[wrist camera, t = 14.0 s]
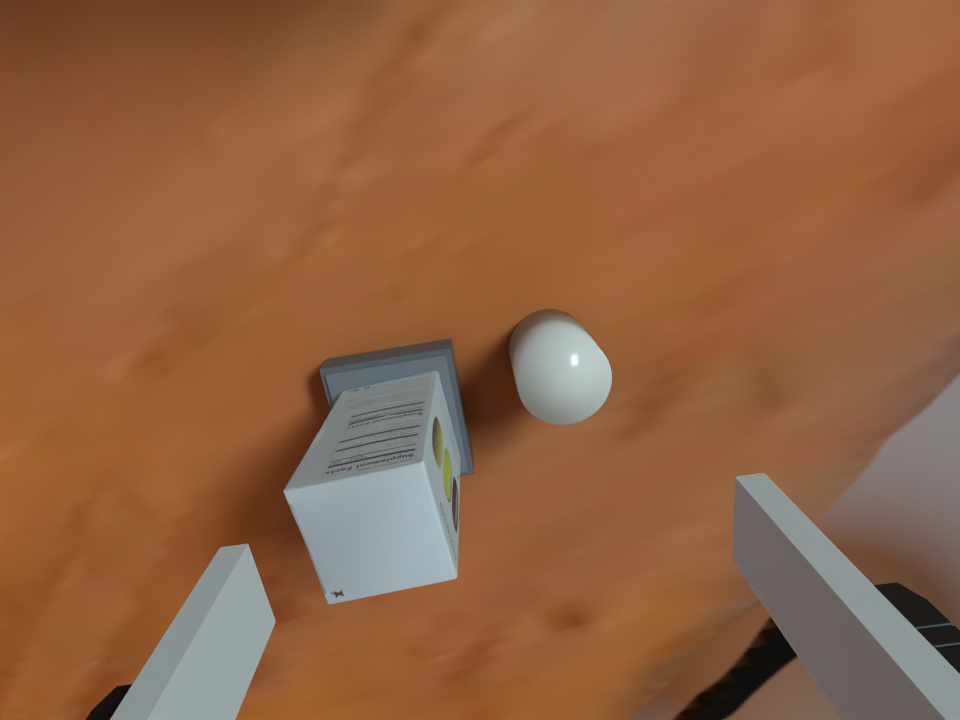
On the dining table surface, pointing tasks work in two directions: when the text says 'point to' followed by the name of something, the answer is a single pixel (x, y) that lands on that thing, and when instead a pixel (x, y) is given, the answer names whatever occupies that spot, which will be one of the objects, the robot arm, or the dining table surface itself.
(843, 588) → the robot arm
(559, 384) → the white rounded knob
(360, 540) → the supplement box
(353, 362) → the plate
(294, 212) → the dining table surface
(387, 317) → the dining table surface
